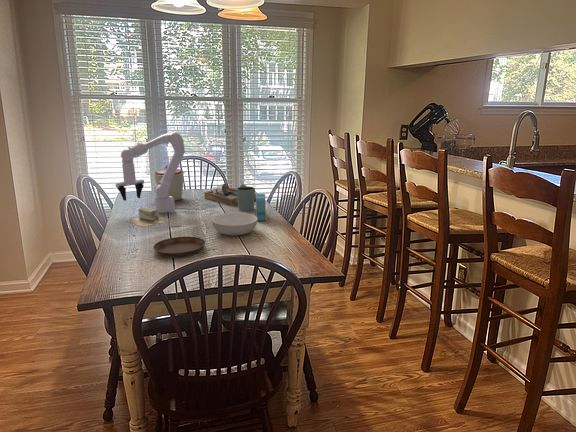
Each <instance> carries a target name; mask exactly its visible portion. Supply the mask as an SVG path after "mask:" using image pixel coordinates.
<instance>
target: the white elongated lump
mask: <svg viewBox="0 0 576 432" xmlns="http://www.w3.org/2000/svg"><path fill="white" fill-rule="evenodd" d="M239 187H248V186H247V185H246V184H243V183H241V184H240V186H239ZM230 188H231V187H229V185H228V184H227V183H222V184H220V185H218V186H215V187H212V190H211V191H212V192H213V194H216V195H220V196H223V197H227V198H228V197H229V196H230V194H233V195H232V196H234V195H236V194H237V192H230Z"/></svg>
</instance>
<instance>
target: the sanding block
mask: <svg viewBox="0 0 576 432" xmlns="http://www.w3.org/2000/svg"><path fill="white" fill-rule="evenodd" d="M138 216H139V218H140V219H142V220H147V221H151V222H152V221H155V220H159V217H160V216H159V212H158V210H156V208H150V207H146V206H145V207H142V208H139V209H138Z"/></svg>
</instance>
